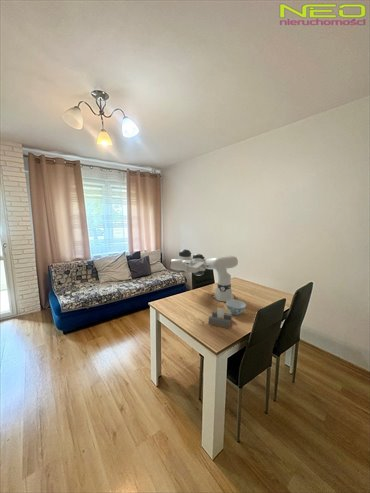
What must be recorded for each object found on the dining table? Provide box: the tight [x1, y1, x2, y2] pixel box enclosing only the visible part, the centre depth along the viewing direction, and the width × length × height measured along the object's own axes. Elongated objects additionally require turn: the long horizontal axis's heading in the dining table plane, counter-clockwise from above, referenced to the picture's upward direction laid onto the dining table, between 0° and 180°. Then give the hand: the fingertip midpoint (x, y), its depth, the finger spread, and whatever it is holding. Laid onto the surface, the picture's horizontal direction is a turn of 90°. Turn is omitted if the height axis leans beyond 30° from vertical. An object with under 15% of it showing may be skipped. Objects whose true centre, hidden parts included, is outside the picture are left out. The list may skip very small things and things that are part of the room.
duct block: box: [208, 310, 233, 329], centre depth 141 cm, size 12×14×4 cm
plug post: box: [216, 301, 226, 319], centre depth 140 cm, size 4×4×12 cm
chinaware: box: [225, 299, 247, 316], centre depth 155 cm, size 15×15×8 cm
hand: (207, 267), depth 148 cm, fingers open, 8 cm apart
